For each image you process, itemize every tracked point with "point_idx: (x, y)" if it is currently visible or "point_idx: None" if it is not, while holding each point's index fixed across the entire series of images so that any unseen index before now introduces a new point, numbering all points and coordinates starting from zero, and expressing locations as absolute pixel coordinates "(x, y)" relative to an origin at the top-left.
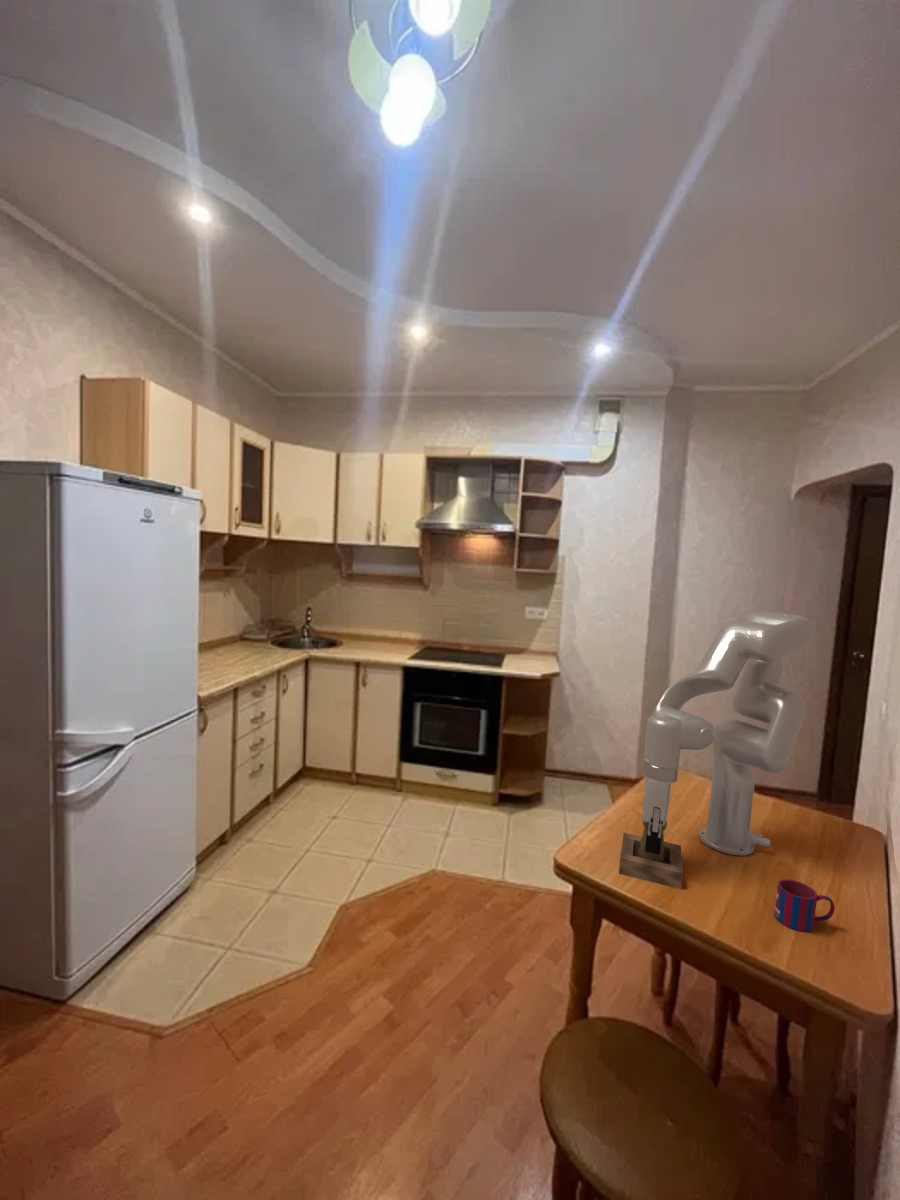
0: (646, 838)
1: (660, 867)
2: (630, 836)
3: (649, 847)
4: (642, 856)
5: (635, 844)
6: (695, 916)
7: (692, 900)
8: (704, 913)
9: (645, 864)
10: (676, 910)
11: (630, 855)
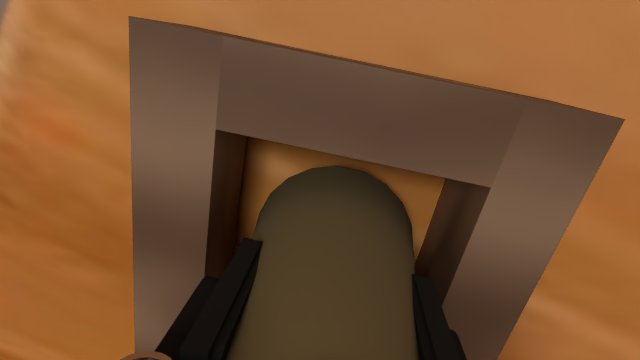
0: (204, 311)
1: (141, 279)
2: (546, 168)
3: (200, 284)
4: (281, 201)
5: (471, 187)
6: (11, 304)
7: (113, 323)
8: (49, 337)
9: (132, 199)
10: (7, 250)
11: (214, 114)
